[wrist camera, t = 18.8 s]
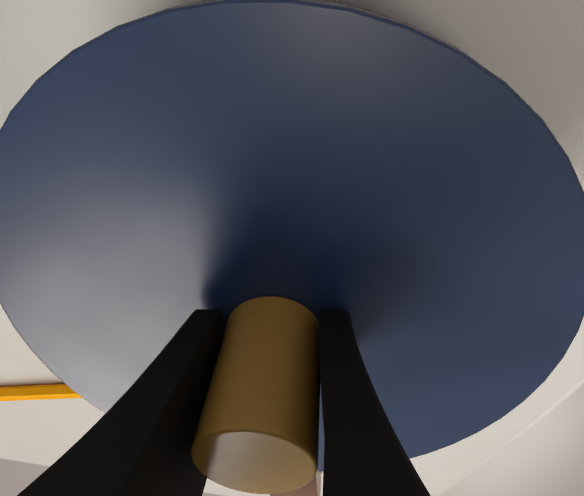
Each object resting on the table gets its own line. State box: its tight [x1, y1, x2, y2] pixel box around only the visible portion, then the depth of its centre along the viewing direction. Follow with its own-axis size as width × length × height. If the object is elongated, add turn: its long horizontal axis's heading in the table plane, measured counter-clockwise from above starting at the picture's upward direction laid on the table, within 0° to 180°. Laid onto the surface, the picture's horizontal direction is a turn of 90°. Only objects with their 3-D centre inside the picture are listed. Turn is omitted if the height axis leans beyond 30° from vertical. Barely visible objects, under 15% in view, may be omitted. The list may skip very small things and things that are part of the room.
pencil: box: [0, 384, 83, 401], centre depth 23 cm, size 1×13×1 cm, turn 100°
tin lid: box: [0, 0, 584, 494], centre depth 9 cm, size 14×14×4 cm
